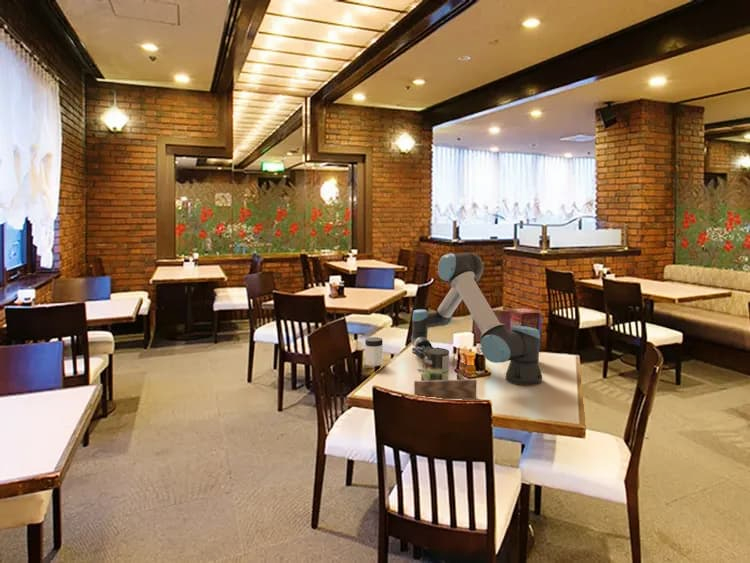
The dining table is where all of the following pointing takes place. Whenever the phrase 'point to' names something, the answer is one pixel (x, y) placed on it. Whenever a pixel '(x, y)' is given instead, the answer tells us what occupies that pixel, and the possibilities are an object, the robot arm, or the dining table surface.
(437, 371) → the coffee can
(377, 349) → the jar
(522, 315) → the food packaging
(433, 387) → the walnut dock
